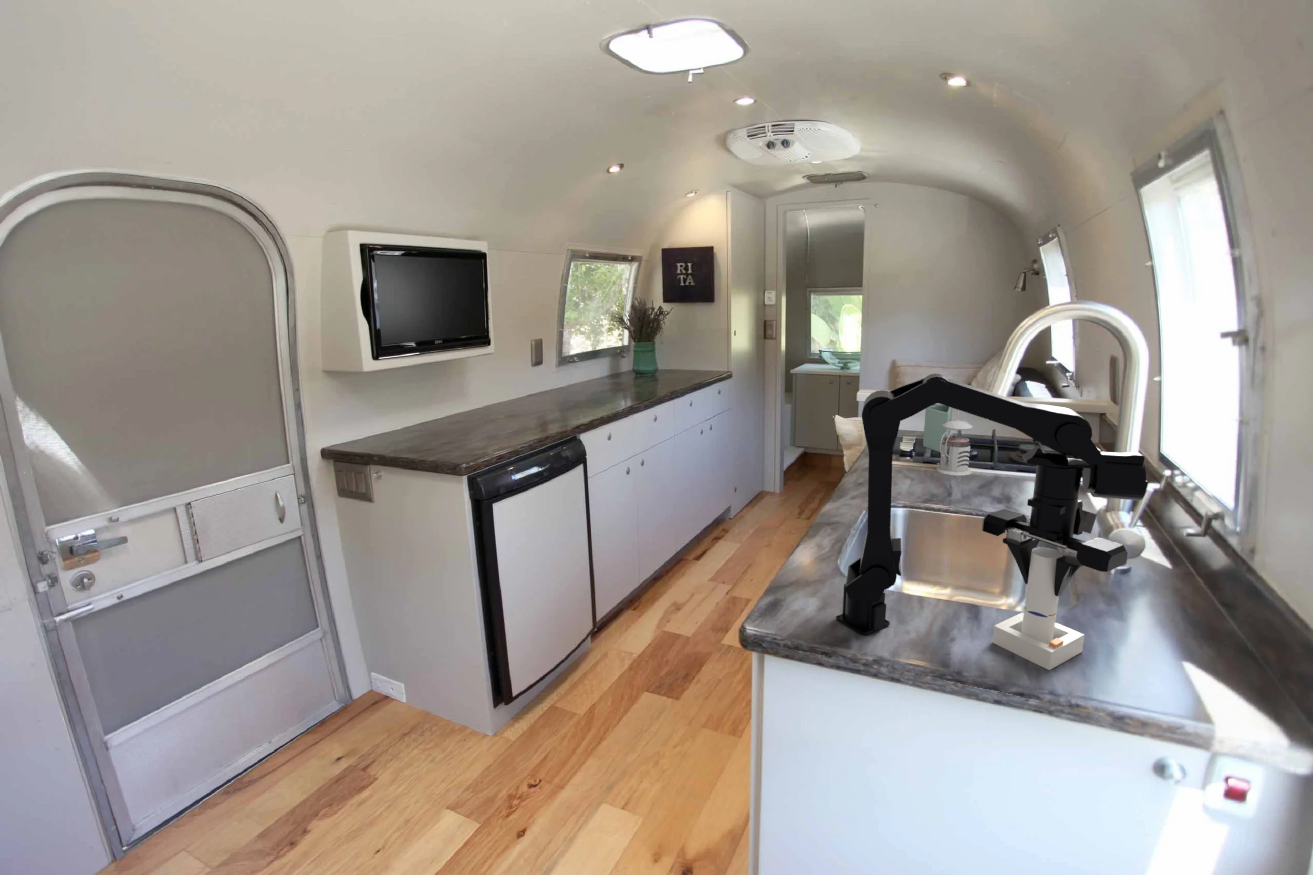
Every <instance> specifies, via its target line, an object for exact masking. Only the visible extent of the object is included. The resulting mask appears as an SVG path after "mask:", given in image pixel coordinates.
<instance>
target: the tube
mask: <svg viewBox="0 0 1313 875" xmlns="http://www.w3.org/2000/svg"><path fill="white" fill-rule="evenodd" d="M1062 556H1065V554H1064V552H1061V551H1060V550H1057V549H1054V548H1050V547H1043V546H1037V548H1033V549H1032V552H1031V560H1030V568H1029V576H1028V584H1026V585H1027V586H1026V592H1025V601H1024V608H1023V612H1024V616H1023V623H1022V631H1021V633H1023V634H1025V635H1027V636H1029V637H1032V638H1034V639H1036V640H1038V641H1040V642H1043V643H1045V644H1049V642H1050V641H1052V640H1053V634H1054V627H1055V622H1056V618H1057V612H1058V606H1059V605H1058V604H1059V597H1060V596H1055V591H1054V584H1055V572H1056V559H1057V558H1060V557H1062Z"/></svg>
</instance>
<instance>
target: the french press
mask: <svg viewBox="0 0 1313 875" xmlns="http://www.w3.org/2000/svg"><path fill="white" fill-rule="evenodd" d="M959 416H960V410H957V419H956V420H951V421H949V422H947V423H945V424H943V427H944V428H946V429H950V431H951V430H953V431H968V430H970V431H971V429H973V425H972V424H970V423H969V422H967V421H963V420H959V418H960V417H959ZM945 434H946V436H947V432H945V433H944V435H945ZM944 435H943V436H944ZM942 439H943V440H944V441H946V442H942ZM942 439H941V442H942V446H941V442H940V452H939V453H940V459H939V460H940V461H939V466H937V467H936V468H935V470H936V471H937V472H938V473H941V474H944V475H950V476H968V475H971V474H972V470H971V469H970V468H969V465H970V462H968V461H970V458H969V457H970V452H971V444H970V439H969V438H967V437H963V436H958V432H956V434H955V436H953V433H951V432H950V435H949V436H947V437H944V438H943V437H942ZM947 447H948V450H947ZM941 448H942V449H941ZM941 450H942V451H941Z"/></svg>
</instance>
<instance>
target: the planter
mask: <svg viewBox="0 0 1313 875" xmlns="http://www.w3.org/2000/svg"><path fill="white" fill-rule="evenodd" d="M924 413H925V414H924V427H923V441H922V446H923V447H924V448H927V449H930V450H933V451H935V452H938V453H941V452H940V442H941V439H942V437H943V438H944V437H947V436H949V435H950V434H951V430H950V429H946V428H944V427H943V424H945V423H947V422H949V421H952V420H953V419H952V417H953V408H951V407H948V406H945V405H942V404H940V405H932V406H930V407H928V408H926V409H925V412H924ZM945 432H947V436H946V434H945V435H944V433H945ZM943 435H944V436H943ZM950 436H951V435H950ZM942 442H946V441H944V440H943V439H942ZM942 442H941V446H942ZM941 449H942V448H941ZM947 450H949V448H948V447H947ZM941 451H942V450H941Z"/></svg>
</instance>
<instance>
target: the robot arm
mask: <svg viewBox="0 0 1313 875" xmlns="http://www.w3.org/2000/svg"><path fill="white" fill-rule="evenodd" d="M937 404H939V405H945V406H948V407H951V408H952V409H955V410H957V411H958V410H959V412H960V411H962V412H964V413H967V414H970V415H973V416H976V417H979V418H983V419H985V420H987V421H990V422H994V423H996V424H1000V425H1003V426H1006V427H1008V428H1012V429H1015V430H1016V431H1019V433H1020V432H1021V433H1022V434H1025V436H1027V437H1029V438H1031V439H1032V440H1034V441H1036V442H1038V443H1039V444H1041V445H1043V446H1045V447H1047V448H1049V449H1051V450H1053V451H1055V452H1053V451H1043V450H1042V449H1041V448H1040V447H1039V445H1035V446H1034V447H1033V448H1032V449H1031V450H1029V451H1027V452H1026V453H1023V454H1022V456H1021V457H1022V459H1023V460H1024V462H1025V463H1026V465H1029V466H1031V465H1032V466H1036V468H1035V469H1036V470H1035V480H1034V486H1033V495H1032V497H1030V498H1027V503H1026V505H1027V506H1028V507H1031V510H1030V518H1029V523H1028V522H1027V521H1028V519H1027V517H1026V515H1025V514H1023V513H1019V512H1016V511H1014V510H1009V509H1006V508H1002V509H1000V510H996V511H993V512H990V513H987V514H986V515H984V517H983V519H982V522H981V523H982V524H981V531H982V532H985V533H987V534H991V535H993V536H996V537H1001V535H1003V534H1005V538H1002V540H1001V541H1002V543H1003V544H1005V545H1006V546H1007V547H1008V549H1009V551H1010V552H1011V554H1012V555H1011V556H1013V558H1014V560H1015V562H1016V565H1017V567H1018V569H1019V571H1020V574H1021V576H1022V579H1023V581H1024V584H1025V585H1027V584H1028V576H1029V568H1030V560H1031V552H1032V549H1033V548H1037V547H1039V546H1038V545H1039V544H1040V542H1043V543H1047V544H1049V545H1053V546H1054V547H1058V548H1062V549H1063V550H1065V554H1064V556H1062V557H1060V558H1057V559H1056V572H1055V584H1054V591H1055V596H1059V597H1061V595H1062V594H1063V593H1064V591H1065V590H1066V588H1067V586H1069V583H1070V582H1071V580H1072V579H1073V577H1074V576H1075V574H1076V572H1078V571H1079V569H1080V568H1082V567H1087V568H1090V569H1092V570H1096V571H1098V572H1101V573H1102V572H1103V573H1108V572H1111V571H1112V570H1115V569H1118V568H1120V567H1121V566H1123V565H1126V564H1127V559H1128V550H1127V549H1126V548H1125V545H1124V544H1122V543H1118V542H1115V541H1111V540H1109V539H1107V538H1102V537H1099V536H1097V537H1095V538H1092V539H1090V540H1083V539H1078V538H1076V537H1074V535H1076V536H1079V535H1082V534H1083V533H1084V532H1085V533H1088V534H1092V531H1093V529H1094V524H1095V522H1096V519H1097V516H1098V514H1097V513H1094V512H1090V511H1087V510H1083V507H1084V504H1083V500H1081V499H1079V496H1080V488H1081V483H1082V486H1083V489H1084V490H1085V491H1086V490H1087V491H1088V490H1089V493H1090V495H1091V496H1092V497H1093V498H1102V499H1114V500H1127V501H1128V500H1129V501H1142V500H1143V499H1144V497H1145V495H1146V493H1147V489H1148V484H1149V483H1148V480H1147V472H1146V467H1145V464H1144V463H1145V455H1143V454H1142V453H1140V452H1138V451H1137V452H1136V451H1128V452H1115V451H1114V452H1113V451H1101V449H1100V448H1098V446H1096V445H1095V443H1094V442H1093V441H1092V437H1093V429H1092V426H1091V423H1090V422H1089V421H1088V420H1087V419H1086V418H1084V417H1083V416H1081V415H1080V414H1079V413H1078V412H1076V411H1075V410H1073V409H1071V408H1068V407H1063V406H1057V405H1051V404H1044V403H1031V402H1023V401H1019V400H1016V399H1014V398H1010V397H1007V396H1004V395H1000V394H997V393H995V392H991V391H989V390H986V389H981V388H979V387H975V386H973V385H970V384H966V383H965V382H964V383H963V382H960V381H957V380H954V379H951V378H948V377H946V376H945V375H943V374H941V373H930V374H928V375H927V376H925V377H924V378H921V379H919V380H916V381H913V382H910V383H907V384H904V385H902V386H898V387H896V388H894V389H892V390H883V389H880V390H875V391H874V392H871V393H870V394H869V395H868V396H866V398H865V400H864V403H863V406H862V412H861V419H862V426H863V432H864V437H865V443H866V446H867V451H868V482H867V483H868V484H867V486H868V487H867V488H868V489H867V490H868V491H867V528H866V533H865V536H864V537H865V538H864V541H863V546H862V550H861V556H860V557H858V558H857V559H856V560H855V561H853V562H851V563H850V565H848V568H847V573H846V574H847V575H846V581H845V583H844V584H843V596H842V597H843V598H842V613H841V614H838V615H836V616H835V620H836V621H838V622H840V623H842V625H843V624H844V625H845V626H847V627H849V628H850V629H852V630H853V631H855V632H857V633H858V634H860V635H862V636H864V635H865V636H866V635H869V634H871V633H873V632H877V631H879V630H881V629H883V628H885V627H888V626H890V624H891V623H890V622H891V621H890V620H887V619H886V616H887V615H886V614H887V604H886V603H885V602H886V593H885V591H886V590H889V589H890V588H891V587H893V586H894V585H895V583H896V581H897V578H898V577H897V576H899V577H901V576H902V564H901V563H902V560H901V559H902V558H901V557H902V538H901V537H900V538H899V537H898V538H897V537H896V538H895V537H894V538H893V535H892V534H893V533H892V530H891V523H892V519H891V518H892V487H893V483H892V482H893V481H892V480H893V454H894V448H895V445H896V442H897V438H898V434H899V428H900V424H901V422H902V421H904V420H906V419H909V418H912V417H913V416H915V415H917V414H918V413H920V412H922V411H924V410H926V408H928V407H933V406H935V405H937ZM1067 455H1074V456H1076V457H1077V458H1073V457H1072V458H1071V457H1070V458H1069V457H1068V456H1067Z"/></svg>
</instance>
